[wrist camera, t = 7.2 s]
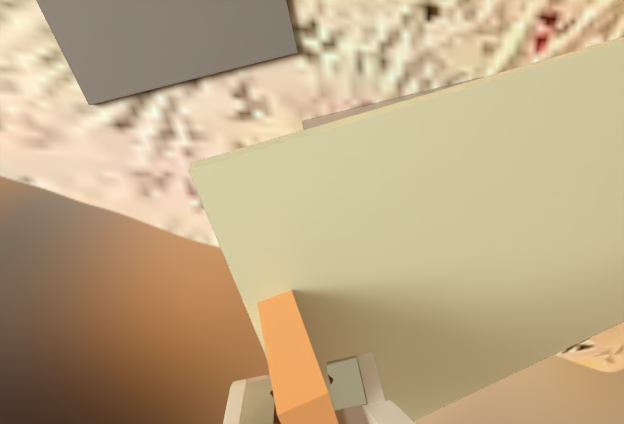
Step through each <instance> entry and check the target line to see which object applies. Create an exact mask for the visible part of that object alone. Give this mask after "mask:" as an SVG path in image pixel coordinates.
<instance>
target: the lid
mask: <svg viewBox="0 0 624 424" xmlns="http://www.w3.org/2000/svg"><path fill="white" fill-rule="evenodd" d="M188 171H189V173H190V175H191V178H192V180H193V182H194V185H195V187H196V190H197V192H198V194H199V197H200V199H201V202H202V204H203V206H204V209H205V211H206V214H207V216H208V218H209V221H210V223H211V226H212V228H213V230H214V233H215V235H216V238H217V240H218V242H219V245H220V247H221V250H222V252H223V254H224V257H225V259H226V261H227V264H228V266H229V269H230V271H231V273H232V276H233V278H234V281H235V283H236V285H237V288H238V290H239V293H240V295H241V297H242V300H243V302H244V305H245V307H246V309H247V312H248V314H249V316H250V319H251V321H252V323H253V326H254V328H255V331H256V333H257V336H258V338H259V341H260V343H261V345H262V348H263V350H264V352H265V355H266V357H267V361H268V367H269V373H270V378H271V384H272V390H273V395H274V401H275V406H276V412H277V416H278V418H279V421H280V423H281V424H338V421H337V418H336V414H335V411H334V408H333V405H332V402H331V399H330V391H329V387H330V386H331V384H330V380H329V377H328V373H327V362H328V361H333V360H337V359H341V358H346V357H350V356H354V355H356V356H357V355H361V354H365V353H370V352H372V353H373V356H374V359H375V363H376V366H377V370H378V373H379V377H380V380H381V384H382V387H383V391H384V394H385V398H386V401H387V400H392V401H393V402H394V403H395V404H396V405H397V406H398V407H399V408H400V409H401V410H402V411H403V412H405V413H406V414H407V415H408V416H409V417H410V418H411V419H412V420H413V421H415V420H417V419H419V418H421V417H423V416H425V415H428V414H430V413H432V412H434V411H436V410H438V409H440V408H442V407H444V406H447V405H449V404H451V403H453V402H455V401H457V400H459V399H461V398H463V397H466V396H468V395H470V394H472V393H474V392H476V391H478V390H480V389H482V388H484V387H487V386H489V385H491V384H493V383H495V382H497V381H499V380H501V379H503V378H506V377H508V376H510V375H512V374H514V373H516V372H518V371H520V370H523V369H525V368H527V367H529V366H531V365H533V364H535V363H537V362H539V361H541V360H543V359H546V358H548V357H550V356H552V355H554V354H556V353H558V352H560V351H563V350H565V349H567V348H569V347H571V346H573V345H575V344H577V343H579V342H582V341H584V340H586V339H588V338H590V337H592V336H594V335H596V334H598V333H601V332H603V331H605V330H607V329H609V328H611V327H613V326H615V325H617V324H620V323H622V322H624V37H622V38H618V39H615V40H611V41H608V42H604V43H601V44H598V45H594V46H591V47H587V48H584V49H580V50H577V51H574V52H570V53H567V54H563V55H560V56H556V57H553V58H550V59H546V60H543V61H539V62H536V63H532V64H529V65H525V66H522V67H519V68H515V69H512V70H508V71H505V72H501V73H498V74H495V75H491V76H488V77H484V78H481V79H477V80H474V81H471V82H467V83H464V84H460V85H457V86H453V87H450V88H447V89H443V90H440V91H436V92H433V93H429V94H426V95H422V96H419V97H416V98H412V99H409V100H405V101H402V102H398V103H395V104H392V105H388V106H385V107H381V108H378V109H374V110H371V111H368V112H364V113H361V114H357V115H354V116H350V117H347V118H344V119H340V120H337V121H333V122H330V123H326V124H323V125H319V126H316V127H313V128H309V129H306V130H302V131H299V132H295V133H292V134H289V135H285V136H282V137H278V138H275V139H271V140H268V141H265V142H261V143H258V144H254V145H251V146H247V147H244V148H241V149H237V150H234V151H230V152H227V153H223V154H220V155H217V156H213V157H210V158H206V159H203V160H199V161H196V162H192V163H191V165H190V168H189V170H188ZM357 360H358V359H357Z"/></svg>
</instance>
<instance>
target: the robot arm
mask: <svg viewBox="0 0 624 424" xmlns="http://www.w3.org/2000/svg"><path fill="white" fill-rule="evenodd" d="M357 359H358V360H357ZM327 373H328V377H329V380H330V384H331V386H330V387H329V391H330V399H331V402H332V405H333V408H334V411H335V414H336V418H337V421H338V424H416V423H415V422H414V421H413V420H412V419H411V418H410V417H409V416H408V415H407V414H406V413H405V412H403V411H402V410H401V409H400V408H399V407H398V406H397V405H396V404H395V403H394V402H393V401H392V400H387V401H386V398H385V394H384V391H383V387H382V384H381V380H380V377H379V373H378V370H377V366H376V363H375V359H374V356H373V353H372V352H370V353H365V354H361V355H357V356H356V355H354V356H350V357H346V358H341V359H337V360H333V361H328V362H327ZM223 424H281V423H280V421H279V418H278V416H277V412H276V406H275V401H274V395H273V390H272V384H271V378H270V375H265V376H259V377H254V378H248V379H243V380H238V381H234V382H233V383H232V385H231V387H230V392H229V398H228V402H227V407H226V412H225V417H224V422H223Z"/></svg>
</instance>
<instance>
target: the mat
mask: <svg viewBox="0 0 624 424" xmlns="http://www.w3.org/2000/svg"><path fill="white" fill-rule="evenodd" d="M36 1H37V3H38V5H39V7H40V9H41V11H42V13H43V15H44V17H45V19H46V21H47V23H48V24H49V26H50V28H51V30H52V32H53V34H54V36H55V38H56V40H57V42H58V44H59V46H60V48H61V50H62V52H63V54H64V56H65V58H66V60H67V62H68V64H69V66H70V68H71V70H72V72H73V74H74V76H75V78H76V80H77V82H78V84H79V86H80V88H81V90H82V92H83V94H84V96H85V98H86V100H87V102H88V104H89V105H93V104H97V103H101V102H105V101H109V100H113V99H117V98H121V97H125V96H129V95H133V94H137V93H141V92H145V91H149V90H152V89H156V88H160V87H164V86H168V85H172V84H176V83H180V82H184V81H188V80H192V79H196V78H200V77H204V76H208V75H212V74H216V73H220V72H224V71H228V70H232V69H236V68H240V67H244V66H248V65H251V64H255V63H259V62H263V61H267V60H271V59H275V58H279V57H283V56H287V55H291V54H295V53H298V52H297V47H296V43H295V38H294V33H293V29H292V24H291V20H290V15H289V11H288V6H287V1H286V0H36Z"/></svg>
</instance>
